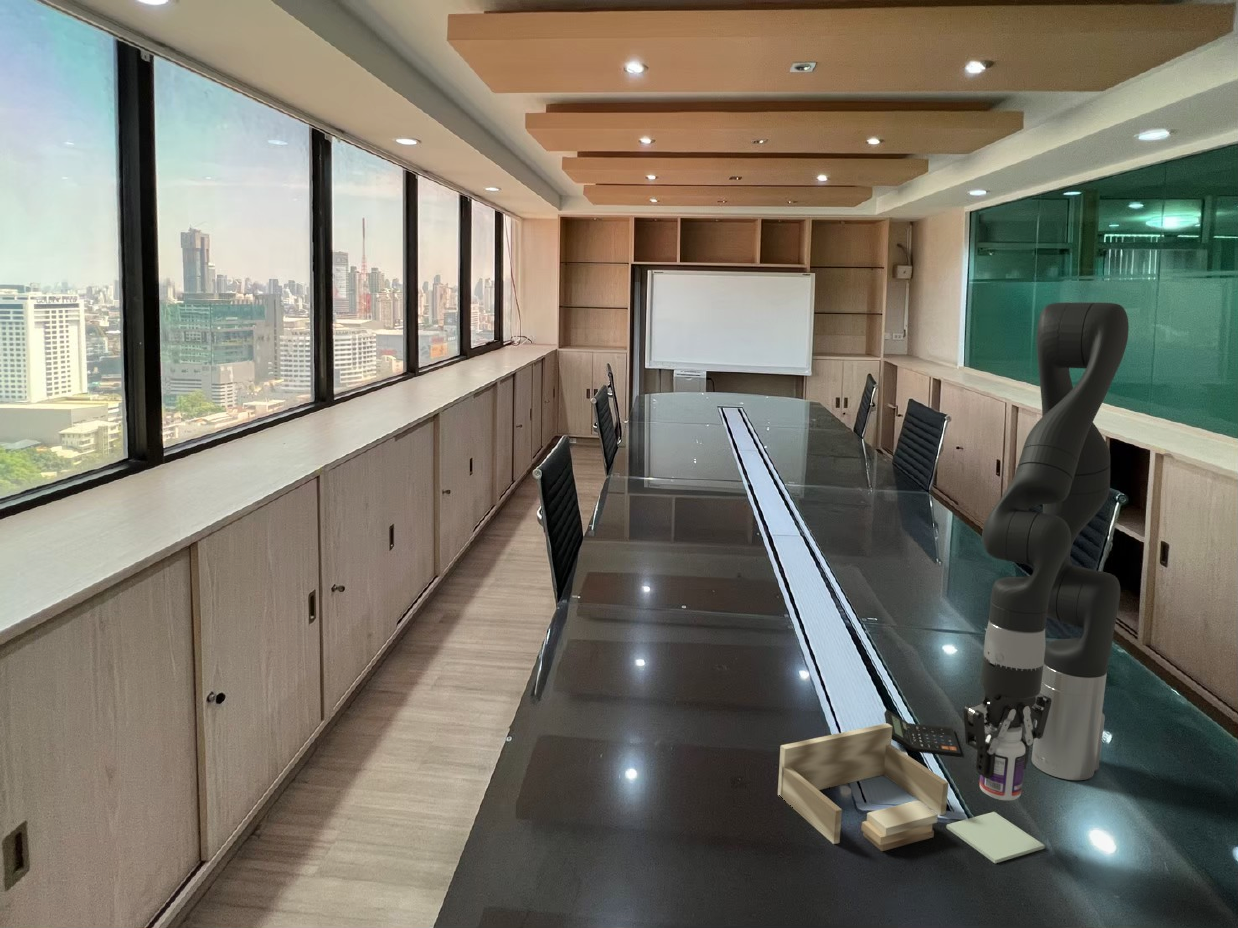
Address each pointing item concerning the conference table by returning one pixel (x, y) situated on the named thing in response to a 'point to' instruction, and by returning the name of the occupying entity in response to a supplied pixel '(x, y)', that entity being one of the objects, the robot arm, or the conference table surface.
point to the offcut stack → (899, 825)
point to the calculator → (923, 736)
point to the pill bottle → (1006, 767)
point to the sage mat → (995, 837)
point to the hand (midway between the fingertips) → (1001, 771)
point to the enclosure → (850, 773)
